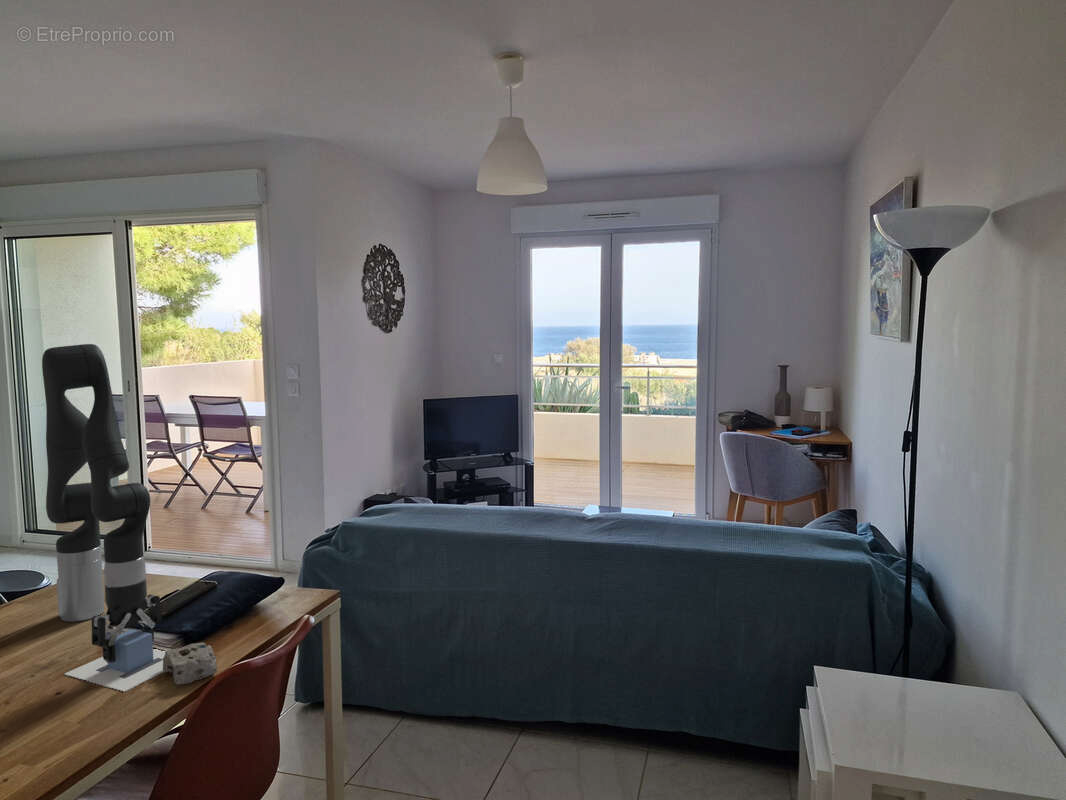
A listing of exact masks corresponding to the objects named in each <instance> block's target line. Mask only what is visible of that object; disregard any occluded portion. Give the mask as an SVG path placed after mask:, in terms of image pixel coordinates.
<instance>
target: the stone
mask: <svg viewBox="0 0 1066 800" xmlns="http://www.w3.org/2000/svg"><path fill="white" fill-rule="evenodd" d="M165 650H166V651H165V656H164V657H163V671H165V672H164V673H173V674H172V678H173V681H174V684H175V685H177V686H179V685H184V684H190V683H193V682H195V681H196V680H197V681H200V680H202V679H204V678H207V677H210V676H213V675H214V674H216V673H217V672H218V664H217V662H218V660H217V658H216V656H215V653H214V650H213V648H212V646H211V645H209V644H208V645H207V643H205V642H202V641H201V642H198V643H197V642H196V643H190V644H188V645H187V644H186V645H184V646H182V647H179V648H174V649H165Z"/></svg>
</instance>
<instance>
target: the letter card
mask: <svg viewBox="0 0 1066 800" xmlns="http://www.w3.org/2000/svg"><path fill="white" fill-rule="evenodd" d="M164 656H165V651H161V650H158V649H153V660H154V661H152V662H150V663H148V664H146V665H144V666H142V667H140V668H138V669H136V670H133V671H131V672H129V673H125V672H121V671H117V670H114V669H110V668H108V664H107V662H106V661H105V660H104V659H103V656H101V657H98V658H97V659H94V660H92V661H90V662H88V663H86V664H83V665H81V666H78V667H76V668H74V669H72V670H69V671H68V672H65V673H63V674H64V676H67V677H70V676H71V678H74V677H75V679H77V678H78V680H81V679H82V680H81V681H84V680H86V681H85V682H88V681H89V682H88V683H91V682H92V684H95V683H96V684H95V685H98V684H99V686H101V685H102V687H105V688H109V689H112V688H113V689H112V690H115V689H116V691H119V690H120V691H119V692H122V691H123V693H126V692H128V691H129V690H131V689H134V688H135V686H136V687H138V686H140V685H142V684H143V682H144V683H146V682H148V681H150V680H151V679H153V678H155V677H157V676H159V675H162V674H163V673H166V672H165V671H163V657H164ZM149 679H150V680H149ZM147 680H148V681H147ZM145 681H146V682H145ZM141 683H142V684H141ZM139 684H140V685H139ZM125 691H126V692H125Z"/></svg>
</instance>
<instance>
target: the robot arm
mask: <svg viewBox="0 0 1066 800" xmlns="http://www.w3.org/2000/svg"><path fill="white" fill-rule="evenodd" d="M107 366H108V365H107V362H106V358H105V356H104V353H103V351H102V349H101V348H100V347H99V346H98V345H96V344H93V343H84V344H74V345H64V346H54V347H50V348H47V349H45V350H44V352H43V354H42V358H41V368H42V378H43V387H44V396H45V404H46V405H45V409H46V425H45V427H46V429H45V445H46V446H45V447H46V459H47V482H46V495H45V497H46V498H45V509H46V510H45V511H46V515H47V518H48V519H49V521H50V522H51V523H52V524H67V523H69V524H70V523H74V522H75V523H76V522H82V521H83V523H82V524H81V525H80V526H79V527H77V528H76V529H74V530H72V531H70V532H68V533H65V534H64V535H62V536H60V537H59V538H58V539H57V540H56V542H55V547H56V548H55V549H56V563H57V579H56V591H57V592H56V594H57V607H58V609H57V610H58V617H60V620H61V621H62V622H63V621H64V622H81V621H86V620H90V619H91V645H92V646H95V647H100V648H102V657H103V659H104V660H105V661H106V662H109V663H113V662H115V661H116V656H115V645H113V644H114V642H115V640H116V638H117V636H118V635H120V634H122V633H123V630H126V629H128V628H129V627H131V626H135V625H137V624H140V625H141V626H142V627H141V631H142V632H147V633H151V634H152V641H153V642H154V639H155V631H154V630H155V629H154V627H155V626H156V624H157V623H160V622H162V620H163V616H162V605H161V597H160V596H159V595H155V594H148V592H147V573H146V572H147V571H146V569H147V568H146V563H145V562H146V561H145V557H144V541H143V539H144V532H145V529H146V523H147V520H148V515H149V513H150V507H151V494H150V492H149V490H148V488H147V487H146V486H145V485H144V484H143V483H140V482H131V483H125V484H120V485H113V486H112V484H111V480H112V479H115V478H116V477H119V476H122V475H124V474H125V473H126V472H128V471H129V468H130V462H129V459H128V456H127V453H126V449H125V447H124V443H123V442H122V438H121V434H120V431H119V427H118V422H117V421H118V420H117V416H116V410H115V403H114V397H113V391H112V387H111V385H112V384H111V381H110V375H109V370H108V367H107ZM87 387H89V388H92V389H93V395H94V396H93V397H94V400H93V404H92V410H91V411H90V414H89V417H87V416H86V415H85V414H84V413H83V412H81V411H80V409H79V408H77V407H76V406H75V405H74V404H73V403H72V402H71V401H70V400H69V398H68V397H67V396H66V394H65V393H66V391H68V390H73V389H83V388H87ZM86 464H87V465H88V468H89V472H90V482H82V483H75V484H68V483H69V481H70V480H71V479H72V478H73V477H74V476H75V475H76V473H78V472H79V471H80V470H81V469H82V468H83V467H84V466H85V465H86ZM120 520H124V521H123V523H122V525H120V526H119V527H117V528H115V529H113V530H111V531H109V532H107V533H105V535H104V538H103V553H104V554H103V555H104V567H103V562H102V561H103V559H102V558H103V557H102V544H101V531H100V527H101V526H100V522H102V523H111V522H115V521H120ZM104 593H105V594H104ZM105 604H106V607H107V611H106V612H105ZM146 609H148V614H146V612H145V611H146ZM103 613H105V614H103ZM100 614H101V615H100ZM102 614H103V615H102ZM98 615H99V616H98ZM114 627H115V628H114Z"/></svg>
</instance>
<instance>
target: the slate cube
mask: <svg viewBox="0 0 1066 800" xmlns="http://www.w3.org/2000/svg"><path fill="white" fill-rule="evenodd" d="M153 643H154V640H153V641H152V634H151V633H147V632H142V630H137V629H133V628H132V629H129V630H127V631H124V632H121V634H120V635H118V636H117V638H116V640H115V642H114V644H113V645H115V656H116V661H115V662H113V663H109V662H107V664H108V668H110V669H114V670H117V671H121V672H125V673H129V672H131V671H133V670H136V669H138V668H140V667H142V666H144V665H146V664H148V663H150V662H152V661H154V660H153V647H154V645H153Z"/></svg>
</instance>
